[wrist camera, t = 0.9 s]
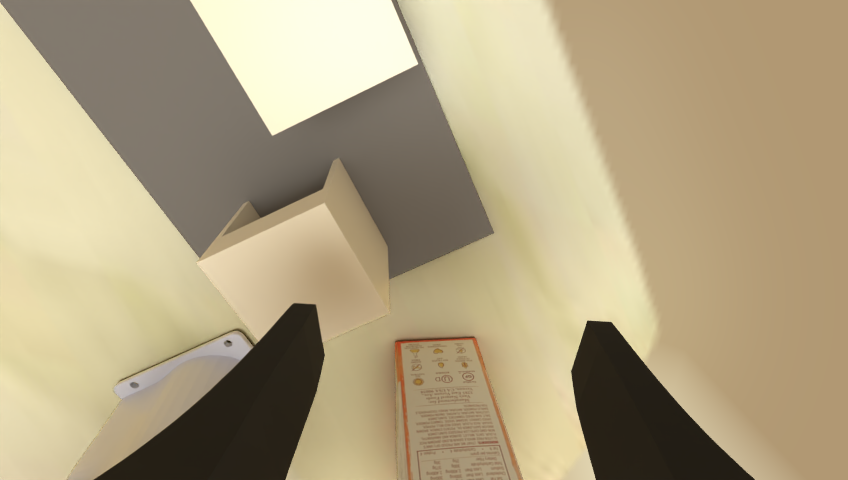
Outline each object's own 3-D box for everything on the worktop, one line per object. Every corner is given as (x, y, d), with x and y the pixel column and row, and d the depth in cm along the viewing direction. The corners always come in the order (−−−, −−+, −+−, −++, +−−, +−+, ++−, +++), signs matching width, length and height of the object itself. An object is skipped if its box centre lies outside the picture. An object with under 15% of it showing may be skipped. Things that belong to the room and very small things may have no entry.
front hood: (302, 106, 23) (272, 135, 16) (234, -15, 20) (167, -37, 14) (407, 55, 22) (418, 64, 16) (350, -78, 20) (336, -130, 13)
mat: (262, 331, 29) (260, 336, 28) (7, 1, 20) (-1, 0, 20) (492, 229, 27) (493, 232, 27) (321, -176, 19) (320, -181, 18)
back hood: (299, 285, 27) (275, 363, 21) (243, 203, 25) (196, 262, 18) (387, 246, 26) (390, 313, 20) (339, 157, 24) (324, 202, 18)
